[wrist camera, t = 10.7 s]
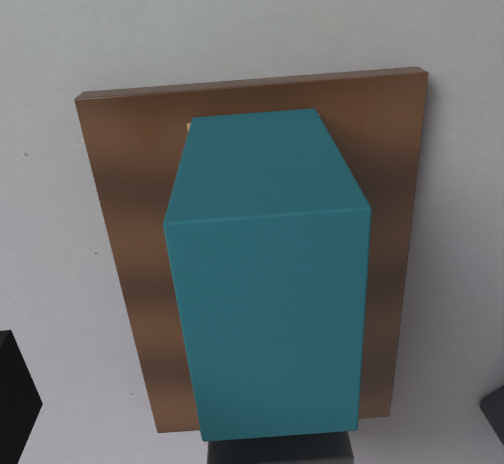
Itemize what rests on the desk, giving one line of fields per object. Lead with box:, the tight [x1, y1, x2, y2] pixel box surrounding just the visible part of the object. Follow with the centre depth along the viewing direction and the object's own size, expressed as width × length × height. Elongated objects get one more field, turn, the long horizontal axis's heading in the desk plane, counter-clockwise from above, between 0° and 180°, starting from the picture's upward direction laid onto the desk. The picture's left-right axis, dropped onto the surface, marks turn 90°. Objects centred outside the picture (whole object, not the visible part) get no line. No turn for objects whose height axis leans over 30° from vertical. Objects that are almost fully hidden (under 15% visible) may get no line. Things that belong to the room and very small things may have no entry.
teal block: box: [163, 108, 372, 442], centre depth 17 cm, size 8×5×9 cm, turn 4°
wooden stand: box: [74, 67, 428, 464], centre depth 20 cm, size 20×14×10 cm
